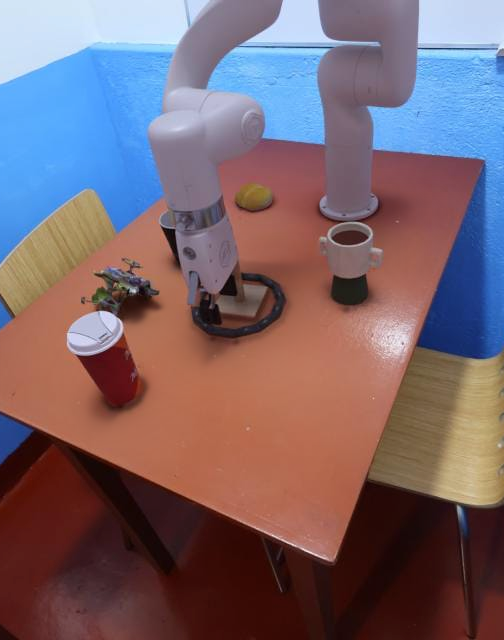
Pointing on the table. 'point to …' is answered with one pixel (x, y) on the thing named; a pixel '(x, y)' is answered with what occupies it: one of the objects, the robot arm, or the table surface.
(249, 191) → the bread roll
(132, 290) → the passion flower
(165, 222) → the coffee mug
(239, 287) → the post
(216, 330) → the ring
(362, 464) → the table surface
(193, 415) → the table surface
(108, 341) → the paper cup
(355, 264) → the white handled cup
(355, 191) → the robot arm
